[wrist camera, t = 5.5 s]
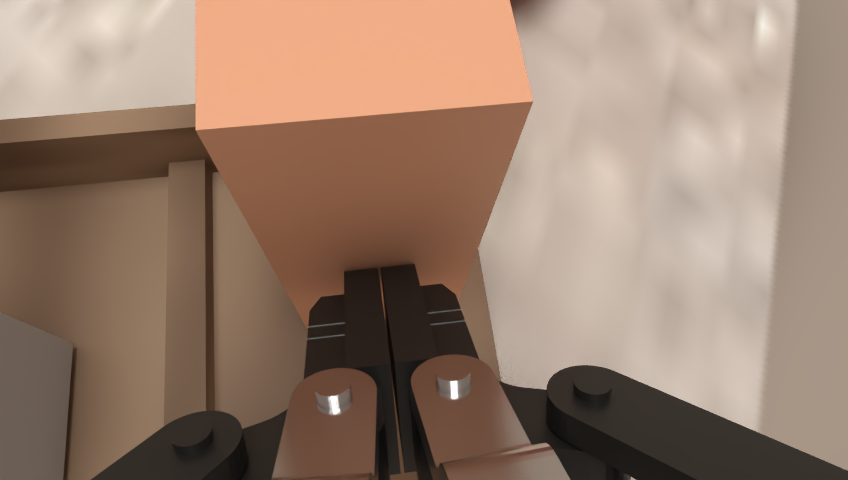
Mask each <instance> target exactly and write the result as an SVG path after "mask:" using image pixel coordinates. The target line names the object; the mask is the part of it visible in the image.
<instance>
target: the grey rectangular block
mask: <svg viewBox="0 0 848 480" xmlns="http://www.w3.org/2000/svg"><path fill="white" fill-rule="evenodd" d="M72 352H73V343H71V342H68V341H66V340H64V339H61V338H59V337H57V336H54V335H52V334H50V333H47V332H45V331H43V330H40V329H38V328H36V327H33V326H31V325H29V324H26V323H24V322H22V321H19V320H17V319H15V318H12V317H10V316H8V315H5V314H3V313H1V312H0V480H63V475H64V462H65V448H66V434H67V421H68V407H69V393H70V380H71V366H72Z"/></svg>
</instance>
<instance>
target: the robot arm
mask: <svg viewBox="0 0 848 480" xmlns="http://www.w3.org/2000/svg"><path fill="white" fill-rule="evenodd" d="M381 277H382V288H383V298H384V309H385V318H384V310H383V302H382V295H381V287H380V280H379V272H378V268H371V269H362V270H352V271H344V294H342V295H333V296H324V297H320V299H319V300H318V301H317V302H316V303H315V305H314V306H313V307H312V308H311V310H310V312H309V324H308V326H309V328H308V335H307V339H308V340H307V347H306V358H305V370H304V380H303V381H302V382H300V383H299V384H298V385H297V386H296V387H295V389H294V390H293V392H292V395H291V397H290V402H289V406H288V409H286V410H285V411H283V412H282V413H280V414H279V415H277V416H275V417H273V418H271V419H268V420H266V421H263V422H260V423H258V424H255V425H252V426H249V427H246V428H243V429H242V427H241V424H240V422H239V420H238V419H237V418H235V417H234V416H233V415H231V414H229V413H226V412H222V411H201V412H196V413H192V414H188V415H185V416H183V417H180V418H178V419H176V420H174V421H172V422H170V423H168V424H167V425H165V426H164V427H162V428H161V429H160V430H158V431H157V432H155V433H154V434H153V435H151V436H150V437H149V438H147V439H146V440H144V441H143V442H142V443H140V444H139V445H138V446H136V447H135V448H133V449H132V450H131V451H129V452H128V453H127V454H125V455H124V456H122V457H121V458H120V459H118V460H117V461H115V462H114V463H113V464H111V465H110V466H109V467H107V468H106V469H104V470H103V471H102V472H100V473H99V474H98V475H96V476H95V477H93V478H92V479H91V480H390V475H395V474H401V471H400V460H399V449H398V438H397V427H396V417H395V406H394V397H395V404H396V412H397V420H398V427H399V435H400V442H401V450H402V458H403V465H404V473H408V472H415V471H417V477H418V480H630V479H631V477H633V478H635V479H636V480H848V471H847V470H844V469H842V468H840V467H837V466H835V465H833V464H830V463H828V462H825V461H823V460H821V459H819V458H816V457H814V456H811V455H809V454H807V453H805V452H802V451H800V450H798V449H795V448H793V447H790V446H788V445H786V444H783V443H781V442H779V441H777V440H774V439H772V438H769V437H767V436H765V435H762V434H760V433H758V432H755V431H753V430H751V429H748V428H746V427H744V426H741V425H739V424H737V423H734V422H732V421H730V420H727V419H725V418H723V417H720V416H718V415H716V414H713V413H711V412H709V411H706V410H704V409H702V408H699V407H697V406H695V405H692V404H690V403H688V402H685V401H683V400H681V399H678V398H676V397H674V396H671V395H669V394H666V393H664V392H662V391H659V390H657V389H655V388H652V387H650V386H648V385H645V384H643V383H641V382H638V381H636V380H634V379H631V378H629V377H627V376H624V375H622V374H620V373H617V372H615V371H612V370H610V369H607V368H603V367H598V366H588V365H582V366H573V367H569V368H565V369H563V370H560V371H558V372H557V373H556V374H554V375H553V376H552V377H551V378H550V380H549V382H548V385H547V390H542V389H532V388H523V387H516V386H512V385H509V384H506V383H503V382H501V381H499V380H498V379H497V377H496V375H495V374H494V372H493V370H492V369H491V368H490V367H489V366H488V365H487V364H486V363H484V362H483V361H481V360H479V357H478V355H477V352H476V349H475V346H474V344H473V341H472V338H471V335H470V333H469V330H468V327H467V324H466V322H465V319H464V316H463V313H462V311H461V308H460V305H459V302H458V299H457V297H456V294H455V293H453V292H452V291H451V290H449V289H448V288H447V287H445V286H444V285H443V284H433V285H424V286H420V283H419V279H418V275H417V271H416V267H415V264H408V265H399V266H389V267H381ZM385 320H386V325H385ZM386 331H387V333H386ZM392 381H393V384H392ZM393 389H394V395H393Z"/></svg>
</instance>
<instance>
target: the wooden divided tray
mask: <svg viewBox="0 0 848 480" xmlns="http://www.w3.org/2000/svg"><path fill="white" fill-rule="evenodd" d="M458 302H459V305H460V308H461V311H462V313H463V316H464V319H465V322H466V324H467V327H468V330H469V333H470V335H471V338H472V341H473V344H474V346H475V349H476V352H477V355H478V357H479V360H481V361H483V362H484V363H486V364H487V365H488V366H489V367H490V368H491V369H492V370H493V372H494V374H495V375H496V377H497V379H498V380H499V381H501V379H500V373H499V367H498V361H497V356H496V350H495V344H494V338H493V333H492V327H491V321H490V315H489V310H488V304H487V298H486V293H485V287H484V281H483V275H482V270H481V264H480V258H479V252H478V249H477V252H476V255H475V257H474V260H473V263H472V265H471V268H470V271H469V273H468V276H467V279H466V281H465V284H464V287H463V289H462V292H461V295H460V297H459V300H458ZM0 312H1V313H3V314H5V315H8V316H10V317H12V318H15V319H17V320H19V321H22V322H24V323H26V324H29V325H31V326H33V327H36V328H38V329H40V330H43V331H45V332H47V333H50V334H52V335H54V336H57V337H59V338H61V339H64V340H66V341H68V342H71V343H73V352H72V366H71V380H70V393H69V407H68V421H67V434H66V448H65V462H64V475H63V480H91V479H92V478H93V477H95V476H96V475H98V474H99V473H100V472H102V471H103V470H104V469H106V468H107V467H109V466H110V465H111V464H113V463H114V462H115V461H117V460H118V459H120V458H121V457H122V456H124V455H125V454H127V453H128V452H129V451H131V450H132V449H133V448H135V447H136V446H138V445H139V444H140V443H142V442H143V441H144V440H146V439H147V438H149V437H150V436H151V435H153V434H154V433H155V432H157V431H158V430H160V429H161V428H162V427H164V426H165V425H167V424H168V423H170V422H172V421H174V420H176V419H178V418H180V417H183V416H185V415H188V414H192V413H196V412H201V411H222V412H226V413H229V414H231V415H233V416H234V417H235V418H237V419H238V420H239V422H240V424H241V427H242V429H243V428H246V427H249V426H252V425H255V424H258V423H260V422H263V421H266V420H268V419H271V418H273V417H275V416H277V415H279V414H280V413H282V412H283V411H285V410H286V409H288V406H289V402H290V397H291V395H292V392H293V390H294V389H295V387H296V386H297V385H298V384H299V383H300V382H302V381H303V380H304V370H305V358H306V347H307V340H308V339H307V335H308V329H307V328H306V327H305V325H304V323H303V321H302V319H301V318H300V316H299V314H298V312H297V311H296V309H295V307H294V305H293V303H292V302H291V300H290V298H289V296H288V294H287V293H286V291H285V289H284V287H283V286H282V284H281V282H280V280H279V278H278V277H277V275H276V273H275V271H274V269H273V268H272V266H271V264H270V262H269V261H268V259H267V257H266V255H265V253H264V252H263V250H262V248H261V246H260V244H259V243H258V241H257V239H256V237H255V236H254V234H253V232H252V230H251V228H250V227H249V225H248V223H247V221H246V219H245V218H244V216H243V214H242V212H241V211H240V209H239V207H238V205H237V203H236V202H235V200H234V198H233V196H232V194H231V193H230V191H229V189H228V187H227V186H226V184H225V182H224V180H223V178H222V177H221V175H220V173H219V171H218V169H217V168H216V166H215V164H214V162H213V161H212V159H211V157H210V155H209V153H208V152H207V150H206V148H205V146H204V144H203V143H202V141H201V139H200V137H199V136H198V134H197V132H196V104H190V105H178V106H166V107H153V108H141V109H129V110H117V111H104V112H92V113H80V114H67V115H55V116H43V117H31V118H18V119H6V120H0ZM385 325H386V320H385ZM386 333H387V331H386ZM392 384H393V381H392ZM393 395H394V389H393ZM394 406H395V417H396V427H397V438H398V449H399V460H400V471H401V474H395V475H390V480H418V477H417V471H415V472H408V473H404V465H403V458H402V450H401V442H400V435H399V427H398V420H397V412H396V404H395V397H394Z"/></svg>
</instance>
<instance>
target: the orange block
mask: <svg viewBox="0 0 848 480" xmlns="http://www.w3.org/2000/svg"><path fill="white" fill-rule="evenodd" d="M532 103H533V99H532V95H531V91H530V86H529V82H528V77H527V73H526V69H525V64H524V60H523V56H522V51H521V47H520V43H519V38H518V34H517V30H516V25H515V21H514V17H513V12H512V8H511V3H510V0H196V132H197V134H198V136H199V137H200V139H201V141H202V143H203V144H204V146H205V148H206V150H207V152H208V153H209V155H210V157H211V159H212V161H213V162H214V164H215V166H216V168H217V169H218V171H219V173H220V175H221V177H222V178H223V180H224V182H225V184H226V186H227V187H228V189H229V191H230V193H231V194H232V196H233V198H234V200H235V202H236V203H237V205H238V207H239V209H240V211H241V212H242V214H243V216H244V218H245V219H246V221H247V223H248V225H249V227H250V228H251V230H252V232H253V234H254V236H255V237H256V239H257V241H258V243H259V244H260V246H261V248H262V250H263V252H264V253H265V255H266V257H267V259H268V261H269V262H270V264H271V266H272V268H273V269H274V271H275V273H276V275H277V277H278V278H279V280H280V282H281V284H282V286H283V287H284V289H285V291H286V293H287V294H288V296H289V298H290V300H291V302H292V303H293V305H294V307H295V309H296V311H297V312H298V314H299V316H300V318H301V319H302V321H303V323H304V325H305V327H306V328H307V329H308V328H309V326H308V324H309V312H310V310H311V308H312V307H313V306H314V305H315V303H316V302H317V301H318V300H319V299H320V297H324V296H333V295H342V294H344V271H352V270H362V269H371V268H378V272H379V280H380V287H381V295H382V302H383V310H384V318H385V309H384V298H383V288H382V277H381V267H389V266H399V265H408V264H415V267H416V271H417V275H418V279H419V283H420V286H424V285H433V284H443V285H444V286H445V287H447V288H448V289H449V290H451V291H452V292H453V293H455V294H456V297H457V299H458V300H459V297H460V295H461V292H462V289H463V287H464V284H465V281H466V279H467V276H468V273H469V271H470V268H471V265H472V263H473V260H474V257H475V255H476V252H477V249H478V247H479V244H480V241H481V239H482V236H483V233H484V231H485V228H486V225H487V223H488V220H489V217H490V215H491V212H492V209H493V207H494V204H495V201H496V199H497V196H498V193H499V191H500V188H501V185H502V183H503V180H504V177H505V175H506V172H507V169H508V167H509V164H510V161H511V159H512V156H513V153H514V151H515V148H516V145H517V143H518V140H519V137H520V135H521V132H522V129H523V127H524V124H525V121H526V119H527V116H528V113H529V111H530V108H531V105H532Z"/></svg>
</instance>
